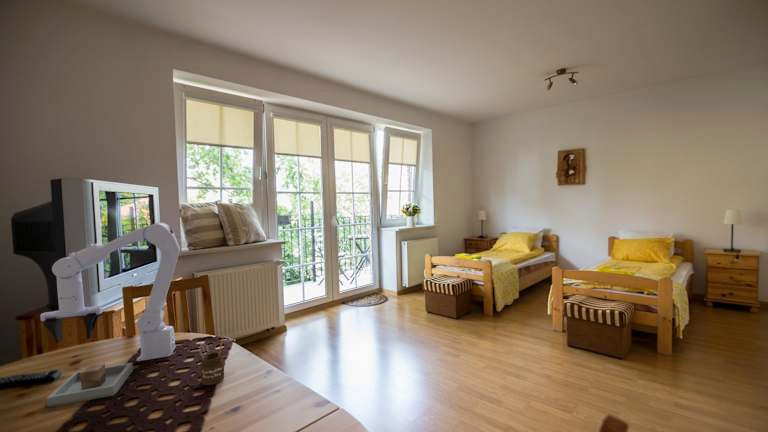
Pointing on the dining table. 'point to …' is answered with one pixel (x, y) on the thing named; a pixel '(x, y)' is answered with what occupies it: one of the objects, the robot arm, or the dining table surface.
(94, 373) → the walnut block
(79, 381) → the tray
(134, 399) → the dining table surface
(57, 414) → the dining table surface
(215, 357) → the utensil holder
